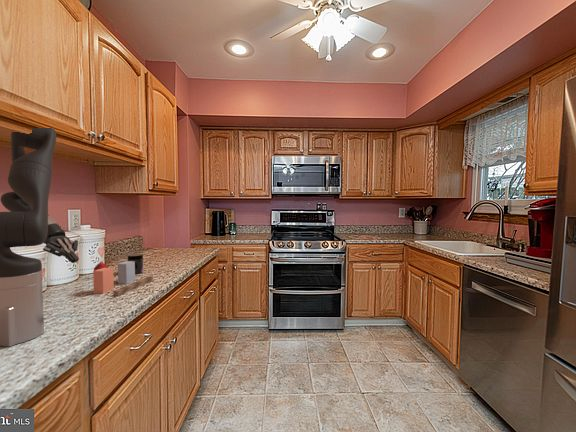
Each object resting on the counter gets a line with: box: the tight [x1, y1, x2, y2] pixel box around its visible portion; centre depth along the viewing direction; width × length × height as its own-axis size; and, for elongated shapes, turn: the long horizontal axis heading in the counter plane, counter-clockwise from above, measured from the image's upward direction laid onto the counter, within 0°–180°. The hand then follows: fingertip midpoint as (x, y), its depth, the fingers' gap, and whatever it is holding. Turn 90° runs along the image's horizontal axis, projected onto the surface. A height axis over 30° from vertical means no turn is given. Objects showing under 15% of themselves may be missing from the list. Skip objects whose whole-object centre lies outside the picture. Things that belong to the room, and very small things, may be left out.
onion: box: [93, 260, 109, 271], centre depth 124 cm, size 6×6×8 cm
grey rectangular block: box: [117, 260, 136, 285], centre depth 114 cm, size 5×4×8 cm
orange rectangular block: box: [92, 267, 115, 294], centre depth 102 cm, size 5×4×8 cm
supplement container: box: [126, 253, 144, 276], centre depth 129 cm, size 7×7×10 cm
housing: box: [112, 276, 154, 297], centre depth 108 cm, size 20×14×3 cm
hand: (75, 261), depth 103 cm, fingers closed
